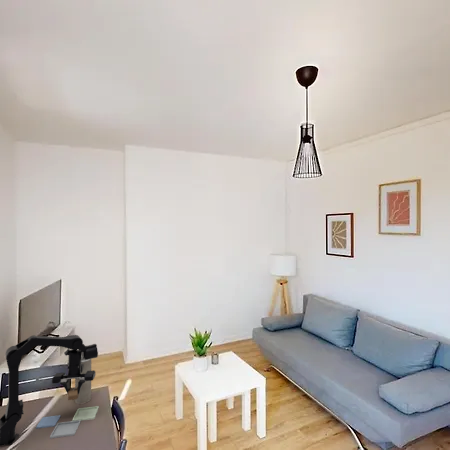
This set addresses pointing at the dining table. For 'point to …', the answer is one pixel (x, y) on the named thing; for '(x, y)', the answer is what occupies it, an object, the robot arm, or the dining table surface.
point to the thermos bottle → (84, 384)
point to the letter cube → (73, 393)
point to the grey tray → (65, 429)
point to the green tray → (85, 413)
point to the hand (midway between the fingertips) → (73, 394)
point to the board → (48, 421)
